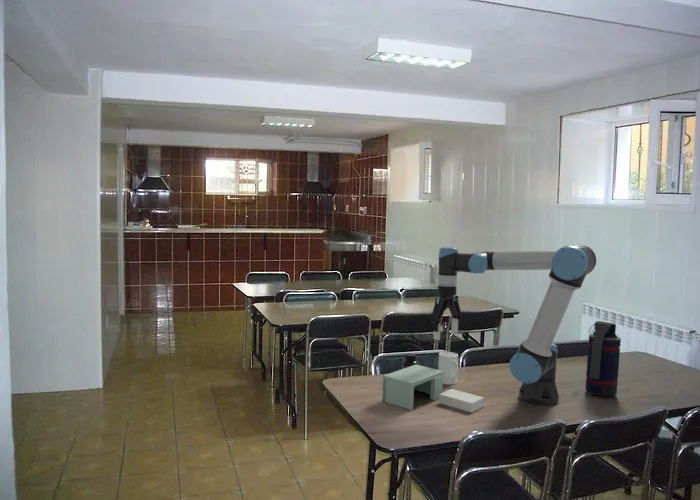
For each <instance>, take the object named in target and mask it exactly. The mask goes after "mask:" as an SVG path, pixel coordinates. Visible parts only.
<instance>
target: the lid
mask: <svg viewBox="0 0 700 500" xmlns="http://www.w3.org/2000/svg"><path fill="white" fill-rule="evenodd" d="M438 404H441V405H444V406H448V407H451V408H454V409H458V410H461V411H465V412H468V413H469V412H470V413H474V412H476V411H478V410H481V409H482V408H483V407H484V404H485V398H484V396H480V395H475V394H472V393H468V392H465V391H461V390H457V389H455V388H454V389H453V388H451V389H449V390H445V391H442V393H441V394H440V395H439V398H438Z"/></svg>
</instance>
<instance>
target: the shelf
mask: <svg viewBox="0 0 700 500" xmlns="http://www.w3.org/2000/svg"><path fill="white" fill-rule="evenodd" d="M382 377H383V381H382V399H381V400H382V402H383V401H384V403H386V402H387V404H390V405H393V406H396V405H397V406H398V407H400V408H403V409H406V410H410V411H412V410H413V409H414V399H415V398H414V393H415V391H419V392H421V393H425V394H429V399H430V400H433V401H436V400H437V399H438V400H439V395H440V394H441V393H443V390H444V389H443V386H444V384H443V371H440V370H438V369H436V368H432V367H428V366H423V365H420V364H418V365H413V366H410V367H407V368H404V369H402V368H401V369H398V370H396V371H393V372H390V373H387V374H385V375H383V376H382ZM414 390H415V391H414Z"/></svg>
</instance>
